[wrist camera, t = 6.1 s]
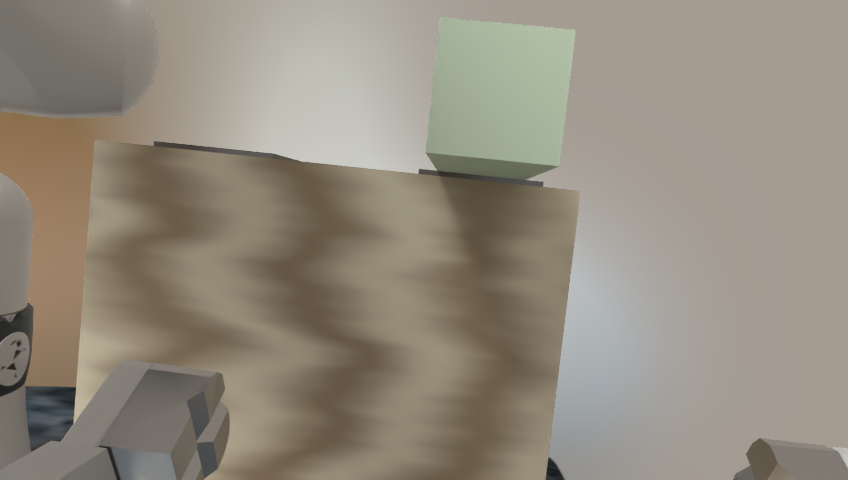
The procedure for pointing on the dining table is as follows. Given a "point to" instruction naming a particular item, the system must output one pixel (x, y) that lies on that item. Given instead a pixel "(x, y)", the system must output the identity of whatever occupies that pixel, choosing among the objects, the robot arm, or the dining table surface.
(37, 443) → the dining table surface
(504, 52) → the green block
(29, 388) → the dining table surface
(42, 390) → the dining table surface
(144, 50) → the robot arm
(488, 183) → the stand
